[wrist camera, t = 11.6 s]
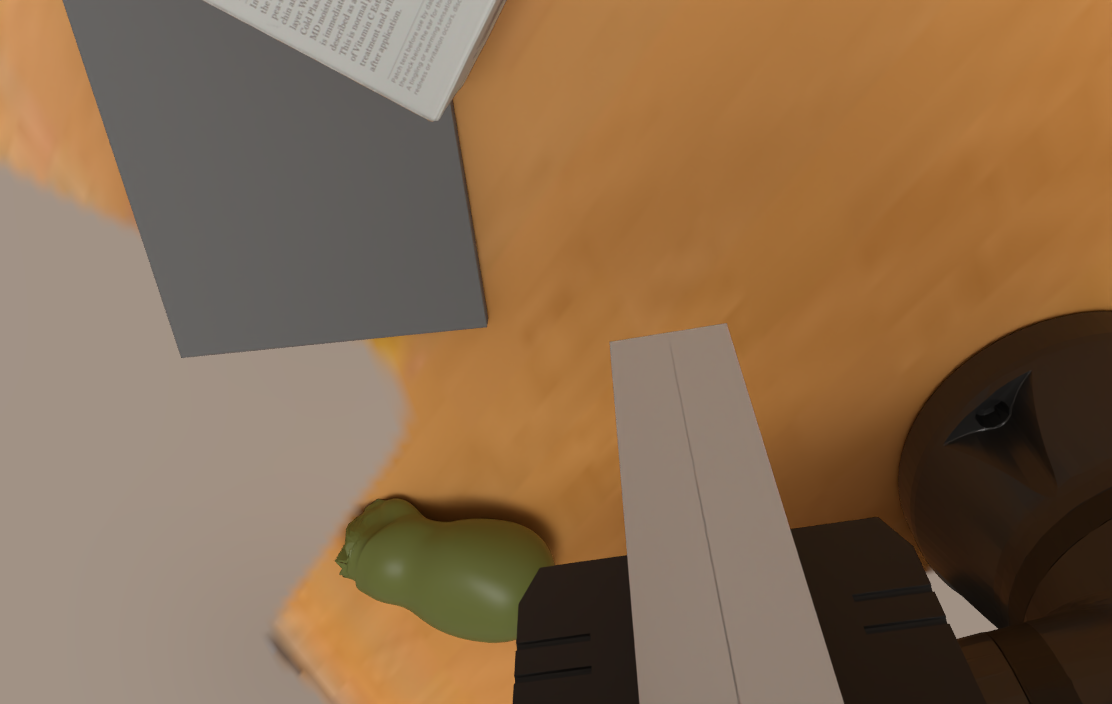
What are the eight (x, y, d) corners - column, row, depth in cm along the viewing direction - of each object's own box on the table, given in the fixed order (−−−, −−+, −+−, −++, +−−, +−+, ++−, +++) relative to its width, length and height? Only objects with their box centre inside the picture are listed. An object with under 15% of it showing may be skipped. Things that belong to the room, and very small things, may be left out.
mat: (488, 318, 44) (487, 327, 43) (187, 348, 44) (181, 357, 44) (421, -91, 36) (418, -88, 35) (58, -46, 37) (48, -42, 36)
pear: (534, 680, 46) (319, 626, 47) (554, 600, 51) (358, 552, 52) (554, 587, 44) (326, 530, 44) (573, 511, 48) (367, 461, 49)
